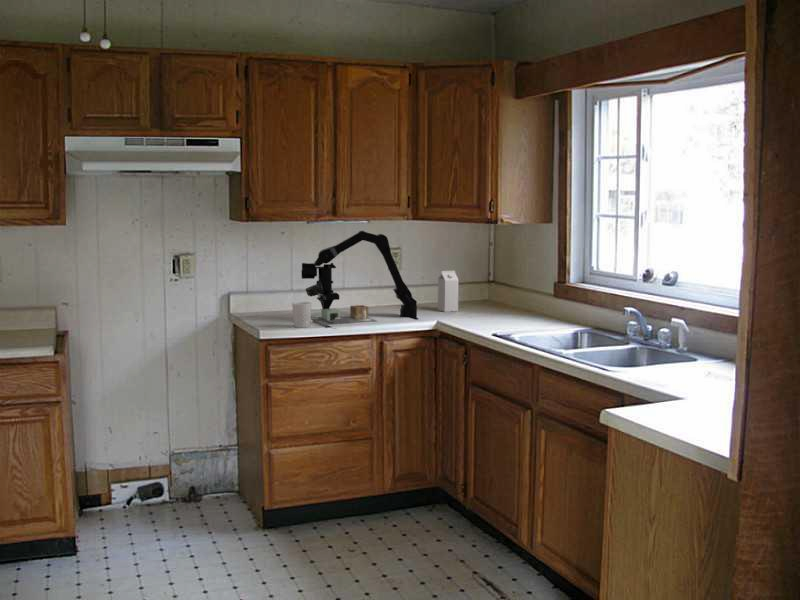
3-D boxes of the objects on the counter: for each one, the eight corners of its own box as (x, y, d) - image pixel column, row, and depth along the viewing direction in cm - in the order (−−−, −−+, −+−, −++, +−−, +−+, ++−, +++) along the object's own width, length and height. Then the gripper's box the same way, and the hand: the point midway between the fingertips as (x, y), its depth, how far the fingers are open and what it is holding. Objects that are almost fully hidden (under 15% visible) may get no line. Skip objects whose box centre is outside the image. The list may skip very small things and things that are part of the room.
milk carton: (437, 310, 421) (438, 270, 419) (450, 309, 424) (451, 269, 422) (444, 312, 415) (445, 271, 412) (458, 311, 418) (458, 271, 415)
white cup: (302, 324, 378) (301, 301, 377) (315, 326, 373) (315, 302, 372) (288, 326, 372) (288, 303, 371) (301, 328, 367) (301, 304, 366)
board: (363, 318, 394) (363, 307, 394) (378, 324, 380) (378, 311, 379) (312, 322, 384) (312, 310, 383) (325, 327, 370) (325, 315, 369)
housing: (334, 317, 388) (334, 308, 387) (340, 319, 381) (340, 310, 381) (321, 318, 385) (321, 309, 384) (327, 320, 379) (327, 311, 378)
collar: (362, 316, 394) (362, 305, 393) (368, 318, 388) (368, 306, 388) (350, 317, 391) (350, 305, 390) (355, 319, 386) (355, 307, 385)
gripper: (300, 277, 392) (300, 312, 394) (315, 281, 375) (315, 318, 377) (324, 276, 397) (324, 310, 399) (339, 280, 380) (340, 316, 382)
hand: (325, 314), depth 389 cm, fingers closed
